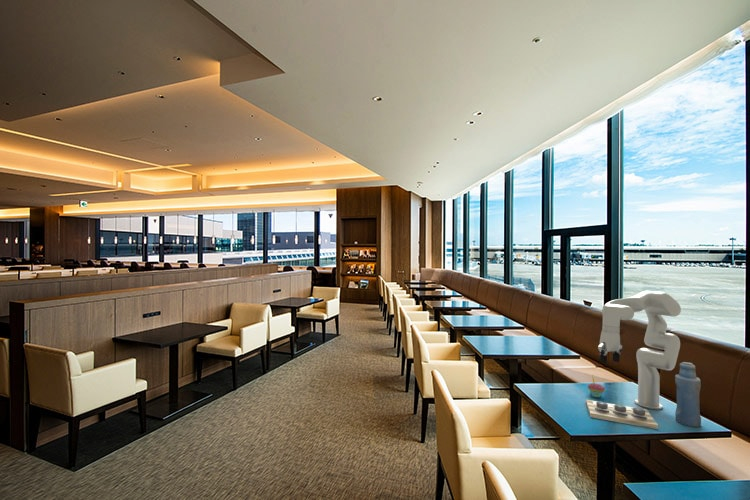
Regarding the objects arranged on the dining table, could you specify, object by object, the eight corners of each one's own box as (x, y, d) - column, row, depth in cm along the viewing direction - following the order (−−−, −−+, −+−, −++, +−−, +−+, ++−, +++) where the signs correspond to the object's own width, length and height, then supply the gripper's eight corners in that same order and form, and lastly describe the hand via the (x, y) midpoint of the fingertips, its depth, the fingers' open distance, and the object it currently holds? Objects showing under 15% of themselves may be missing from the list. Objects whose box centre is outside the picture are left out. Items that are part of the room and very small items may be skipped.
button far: (595, 404, 191) (595, 400, 191) (606, 406, 189) (606, 402, 189) (597, 408, 186) (597, 404, 186) (608, 410, 184) (608, 406, 184)
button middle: (613, 407, 187) (613, 403, 187) (625, 409, 185) (625, 405, 185) (615, 411, 183) (615, 407, 183) (627, 413, 181) (627, 409, 181)
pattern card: (592, 401, 199) (592, 400, 199) (640, 409, 190) (640, 408, 190) (593, 404, 195) (593, 404, 195) (642, 413, 185) (642, 412, 185)
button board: (585, 403, 202) (585, 399, 202) (646, 413, 190) (646, 409, 190) (590, 417, 183) (590, 412, 184) (657, 429, 172) (657, 424, 172)
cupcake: (587, 396, 212) (587, 375, 212) (588, 392, 219) (588, 372, 219) (604, 399, 207) (604, 379, 208) (604, 395, 214) (605, 375, 215)
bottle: (703, 429, 173) (704, 367, 174) (677, 424, 178) (677, 363, 179) (697, 421, 181) (698, 362, 182) (672, 417, 186) (673, 359, 187)
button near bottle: (632, 410, 184) (632, 406, 184) (643, 412, 182) (643, 408, 182) (634, 414, 179) (634, 410, 180) (646, 416, 177) (646, 412, 177)
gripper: (614, 327, 193) (613, 359, 193) (592, 327, 187) (591, 361, 186) (629, 330, 186) (628, 363, 186) (606, 330, 180) (605, 365, 179)
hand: (609, 362), depth 186 cm, fingers open, 9 cm apart
